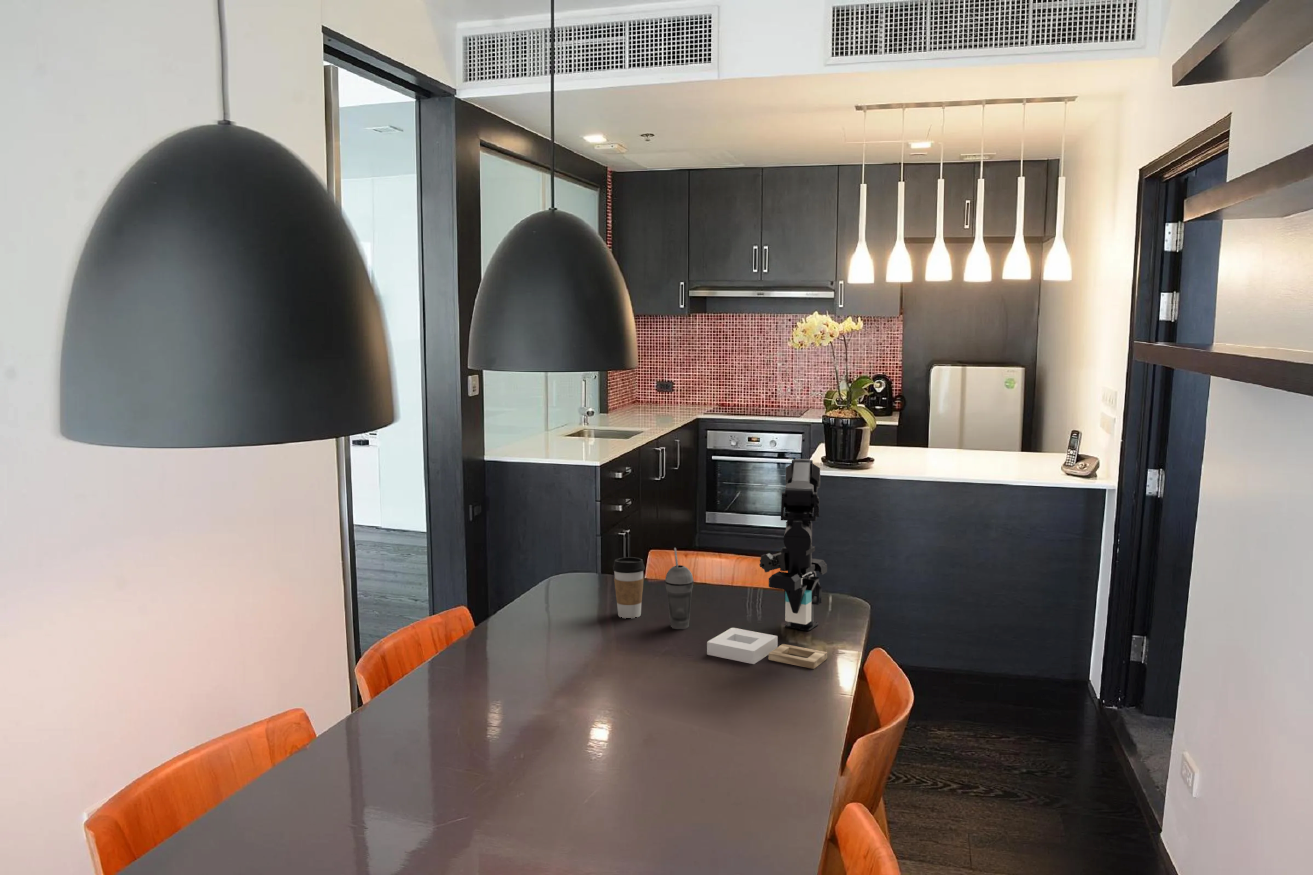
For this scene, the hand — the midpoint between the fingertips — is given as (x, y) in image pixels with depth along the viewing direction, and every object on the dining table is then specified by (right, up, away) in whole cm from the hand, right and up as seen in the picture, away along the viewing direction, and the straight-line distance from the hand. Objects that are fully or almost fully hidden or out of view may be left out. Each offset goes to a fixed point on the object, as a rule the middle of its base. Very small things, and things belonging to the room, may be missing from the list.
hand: (798, 611), depth 210 cm
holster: (0, -11, +1) cm, 11 cm away
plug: (0, -2, 0) cm, 2 cm away
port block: (-12, -11, +7) cm, 17 cm away
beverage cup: (-26, -9, +25) cm, 37 cm away
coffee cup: (-39, -8, +35) cm, 53 cm away
